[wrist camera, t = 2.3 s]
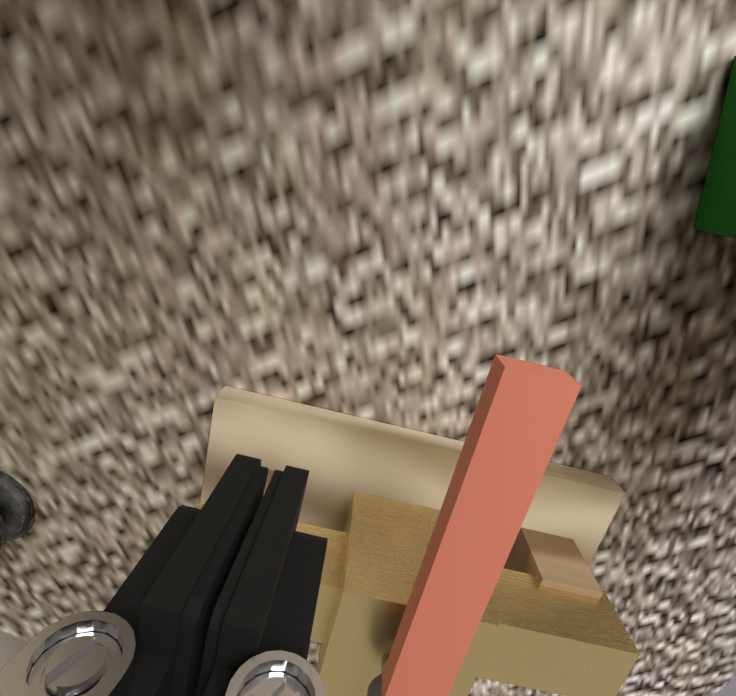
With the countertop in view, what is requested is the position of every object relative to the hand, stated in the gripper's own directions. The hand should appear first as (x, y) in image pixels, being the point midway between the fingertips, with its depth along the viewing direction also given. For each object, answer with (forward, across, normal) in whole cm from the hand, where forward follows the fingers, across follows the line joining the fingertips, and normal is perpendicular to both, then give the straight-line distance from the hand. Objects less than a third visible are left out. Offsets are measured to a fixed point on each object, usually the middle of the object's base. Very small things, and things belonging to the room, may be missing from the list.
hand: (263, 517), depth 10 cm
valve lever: (+3, -6, +3) cm, 7 cm away
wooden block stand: (+11, -6, +9) cm, 15 cm away
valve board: (+14, -6, +9) cm, 17 cm away
